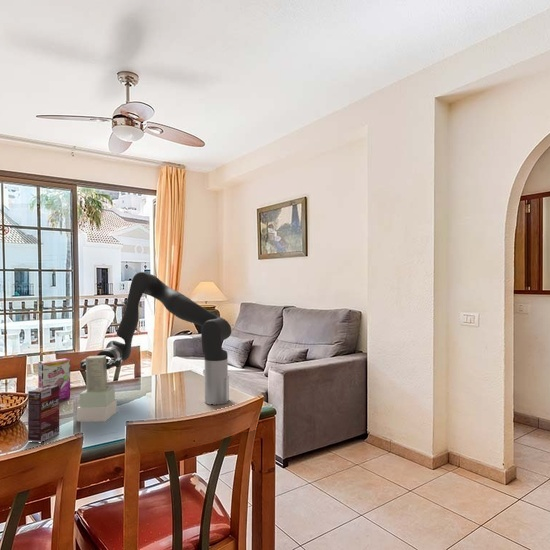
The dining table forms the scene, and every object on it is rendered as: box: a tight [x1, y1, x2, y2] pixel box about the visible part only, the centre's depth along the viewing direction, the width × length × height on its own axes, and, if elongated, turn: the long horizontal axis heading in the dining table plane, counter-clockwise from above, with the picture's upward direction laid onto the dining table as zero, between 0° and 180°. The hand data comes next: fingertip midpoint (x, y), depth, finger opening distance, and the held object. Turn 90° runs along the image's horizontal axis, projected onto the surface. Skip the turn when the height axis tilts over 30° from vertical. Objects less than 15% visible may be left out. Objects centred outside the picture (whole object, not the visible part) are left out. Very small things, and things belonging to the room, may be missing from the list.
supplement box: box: [27, 385, 60, 443], centre depth 133 cm, size 9×5×16 cm, turn 168°
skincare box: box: [84, 355, 108, 391], centre depth 153 cm, size 6×4×12 cm
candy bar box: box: [37, 358, 71, 401], centre depth 174 cm, size 11×5×16 cm, turn 137°
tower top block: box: [79, 385, 116, 408], centre depth 153 cm, size 9×9×5 cm
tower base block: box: [76, 398, 118, 422], centre depth 153 cm, size 10×10×5 cm
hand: (95, 367), depth 151 cm, fingers open, 7 cm apart
